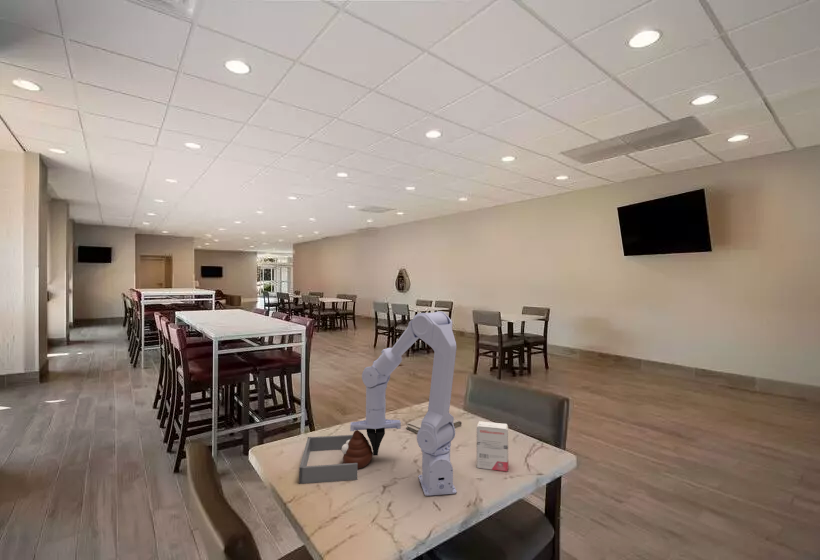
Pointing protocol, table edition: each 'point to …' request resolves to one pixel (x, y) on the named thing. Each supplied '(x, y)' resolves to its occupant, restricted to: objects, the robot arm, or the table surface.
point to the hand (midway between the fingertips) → (375, 454)
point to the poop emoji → (357, 450)
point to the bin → (326, 471)
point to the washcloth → (416, 424)
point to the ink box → (492, 446)
